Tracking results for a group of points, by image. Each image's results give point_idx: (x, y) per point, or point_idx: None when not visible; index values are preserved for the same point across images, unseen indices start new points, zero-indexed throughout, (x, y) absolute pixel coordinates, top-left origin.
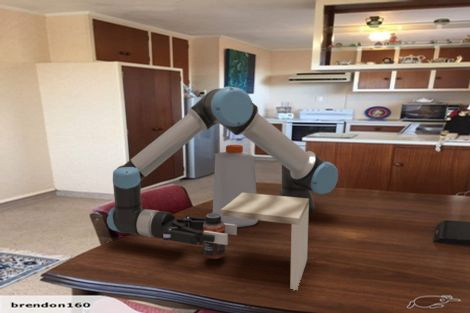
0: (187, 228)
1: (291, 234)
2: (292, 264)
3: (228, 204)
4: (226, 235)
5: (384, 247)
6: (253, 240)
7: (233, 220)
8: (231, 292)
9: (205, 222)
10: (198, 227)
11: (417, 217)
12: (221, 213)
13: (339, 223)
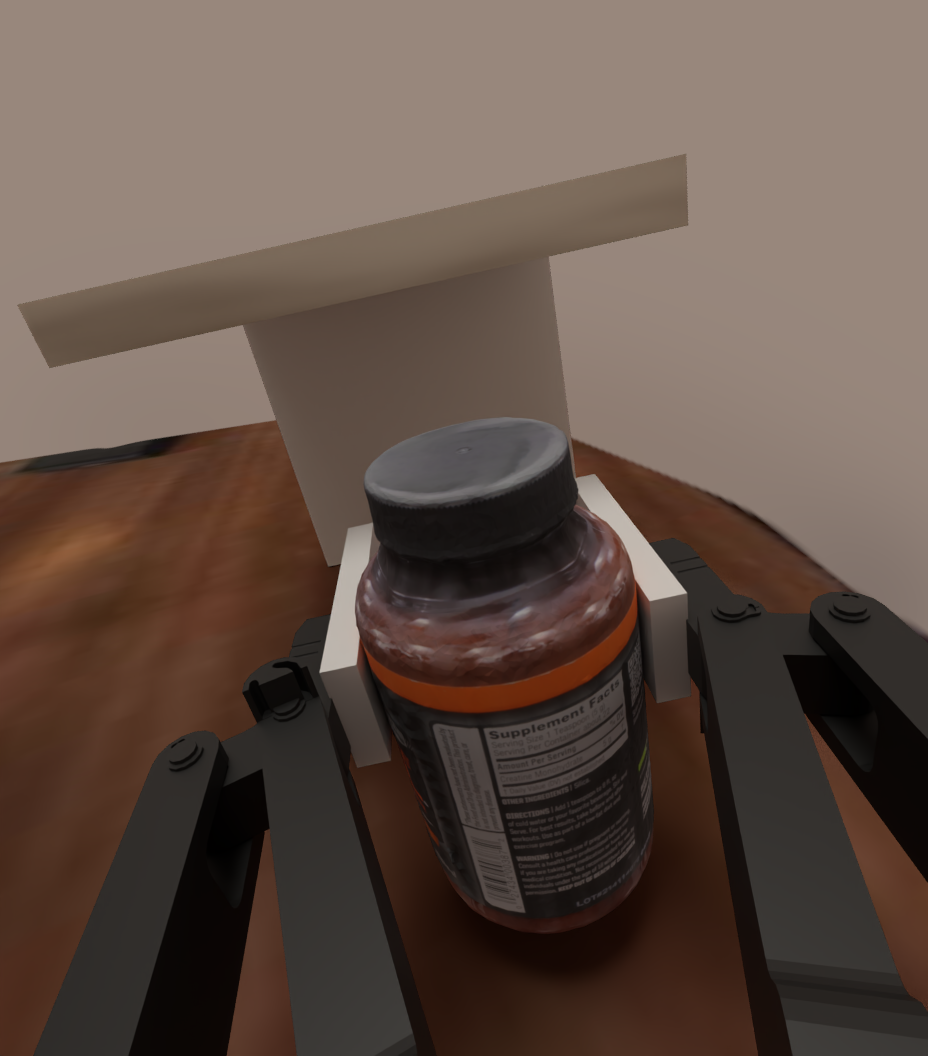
0: (796, 851)
1: (550, 281)
2: (566, 412)
3: (499, 196)
4: (596, 479)
5: (199, 485)
6: (88, 819)
7: None
8: (781, 607)
9: (541, 587)
10: (402, 958)
11: None
12: (683, 201)
13: None
